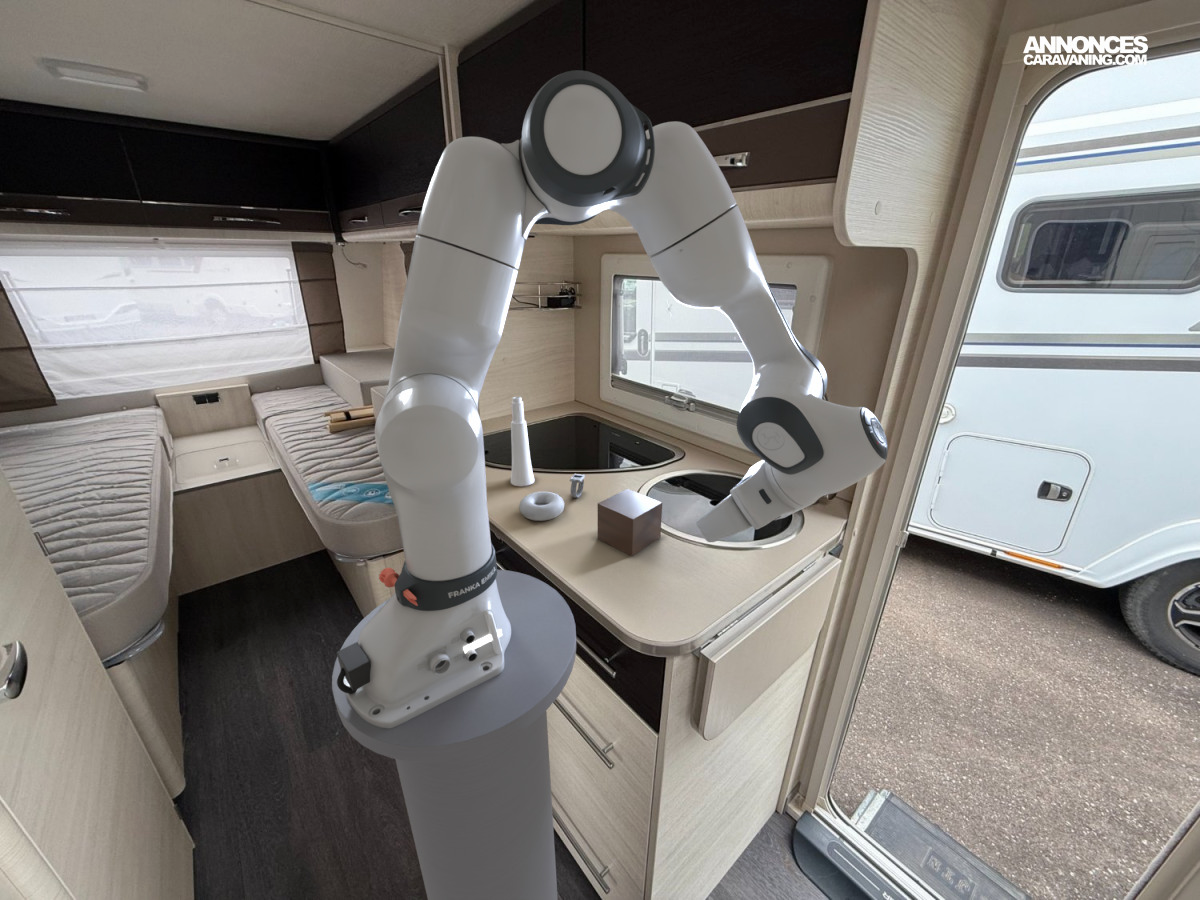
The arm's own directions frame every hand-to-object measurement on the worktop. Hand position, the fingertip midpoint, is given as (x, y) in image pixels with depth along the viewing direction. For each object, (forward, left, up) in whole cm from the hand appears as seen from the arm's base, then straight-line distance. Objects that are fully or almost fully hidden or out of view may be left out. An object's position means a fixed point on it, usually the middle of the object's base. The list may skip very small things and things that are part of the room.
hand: (712, 521), depth 78 cm
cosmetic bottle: (+2, +55, -11) cm, 56 cm away
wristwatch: (+6, +39, -11) cm, 41 cm away
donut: (-5, +39, -11) cm, 41 cm away
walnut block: (0, +18, -11) cm, 21 cm away
